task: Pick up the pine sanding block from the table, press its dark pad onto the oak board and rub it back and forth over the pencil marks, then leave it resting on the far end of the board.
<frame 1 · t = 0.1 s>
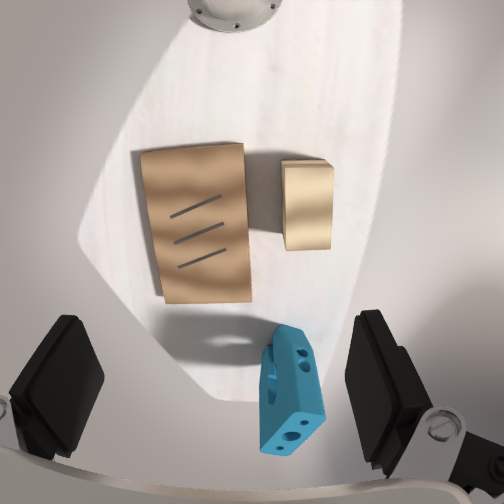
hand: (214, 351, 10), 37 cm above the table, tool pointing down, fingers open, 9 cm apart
block: (282, 343, 58), on the table
oak board: (200, 228, 48), on the table
sanding block: (302, 197, 46), on the table
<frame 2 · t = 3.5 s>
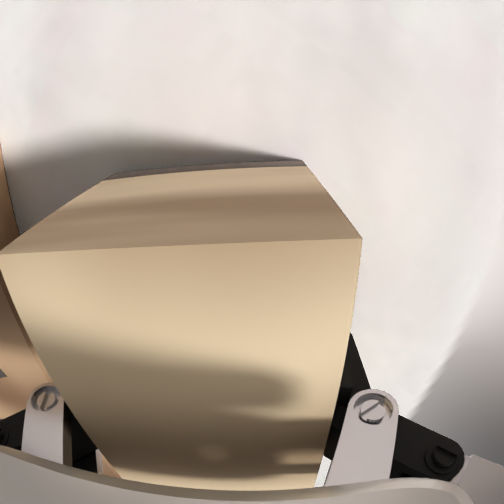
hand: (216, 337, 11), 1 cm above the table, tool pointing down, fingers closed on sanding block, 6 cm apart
sanding block: (219, 312, 12), on the table, touching gripper
when the fingers open (3 cm above the table, at t = 14.6 s): sanding block stays where it is, resting on oak board.
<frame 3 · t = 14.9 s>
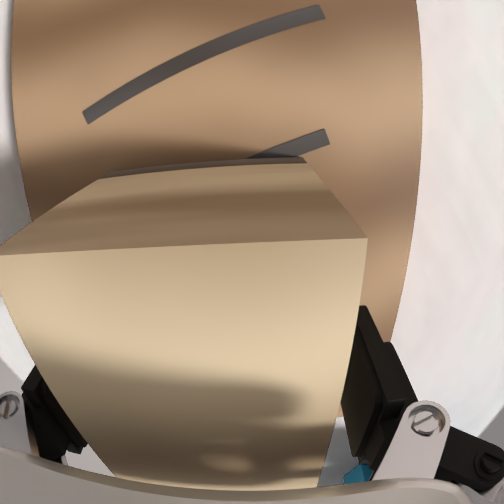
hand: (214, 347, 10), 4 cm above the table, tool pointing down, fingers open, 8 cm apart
block: (389, 456, 21), on the table
oak board: (212, 171, 12), on the table
sanding block: (218, 313, 12), point 2 cm above the table, touching oak board
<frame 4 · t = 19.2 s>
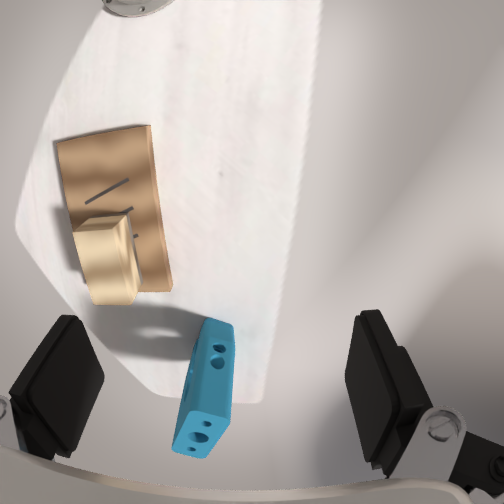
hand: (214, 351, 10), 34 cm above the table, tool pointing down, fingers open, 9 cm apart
block: (212, 338, 54), on the table
oak board: (116, 214, 44), on the table
sanding block: (117, 249, 45), point 2 cm above the table, touching oak board
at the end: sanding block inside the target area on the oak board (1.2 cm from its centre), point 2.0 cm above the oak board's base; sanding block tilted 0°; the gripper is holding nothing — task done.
